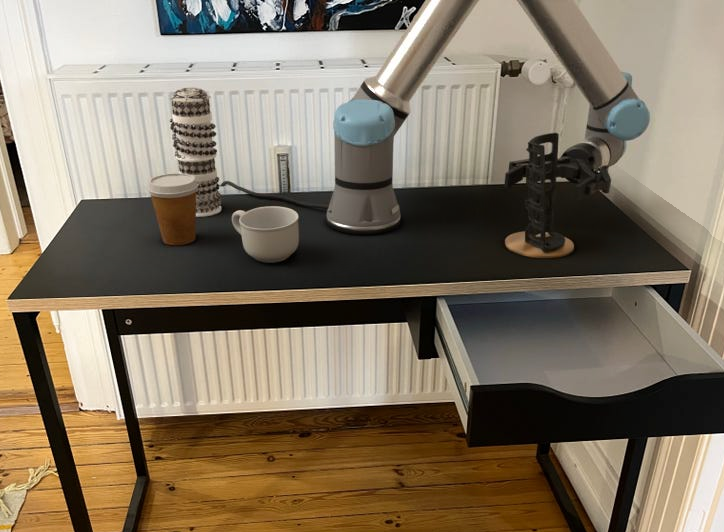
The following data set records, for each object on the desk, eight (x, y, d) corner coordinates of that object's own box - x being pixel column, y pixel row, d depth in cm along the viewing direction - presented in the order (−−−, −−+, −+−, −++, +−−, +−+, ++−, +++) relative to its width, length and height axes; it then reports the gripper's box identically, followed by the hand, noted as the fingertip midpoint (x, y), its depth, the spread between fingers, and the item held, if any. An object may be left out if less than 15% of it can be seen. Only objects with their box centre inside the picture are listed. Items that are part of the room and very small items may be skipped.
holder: (566, 254, 141) (569, 144, 132) (524, 254, 143) (525, 147, 133) (564, 233, 150) (567, 130, 141) (525, 234, 152) (525, 133, 143)
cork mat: (493, 248, 146) (493, 245, 146) (522, 228, 155) (522, 226, 155) (557, 263, 139) (558, 261, 139) (584, 242, 148) (584, 239, 148)
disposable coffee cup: (213, 235, 152) (207, 175, 146) (184, 251, 145) (177, 189, 139) (174, 228, 156) (166, 170, 150) (144, 244, 148) (135, 183, 142)
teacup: (312, 256, 143) (310, 215, 139) (268, 273, 136) (265, 230, 132) (263, 237, 151) (260, 198, 147) (219, 252, 144) (215, 212, 140)
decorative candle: (171, 213, 164) (155, 91, 151) (198, 201, 171) (186, 84, 158) (204, 220, 160) (192, 96, 147) (231, 207, 167) (221, 88, 154)
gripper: (642, 190, 150) (604, 220, 135) (524, 169, 162) (477, 194, 147) (649, 151, 146) (611, 178, 131) (528, 133, 159) (481, 155, 144)
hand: (540, 187), depth 139 cm, fingers open, 13 cm apart
